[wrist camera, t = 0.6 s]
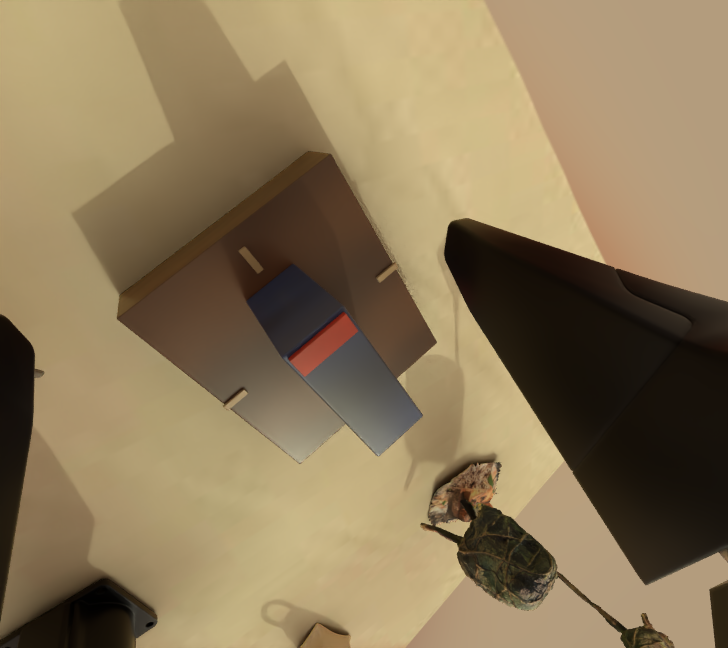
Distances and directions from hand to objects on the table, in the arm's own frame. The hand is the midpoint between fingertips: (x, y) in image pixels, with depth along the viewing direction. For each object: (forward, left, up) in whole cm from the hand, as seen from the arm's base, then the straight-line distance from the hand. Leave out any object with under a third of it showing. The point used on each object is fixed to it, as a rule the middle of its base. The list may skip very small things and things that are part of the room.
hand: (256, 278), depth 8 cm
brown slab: (-8, -2, -13) cm, 16 cm away
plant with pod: (-35, -10, -14) cm, 39 cm away
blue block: (-8, -2, -10) cm, 13 cm away
